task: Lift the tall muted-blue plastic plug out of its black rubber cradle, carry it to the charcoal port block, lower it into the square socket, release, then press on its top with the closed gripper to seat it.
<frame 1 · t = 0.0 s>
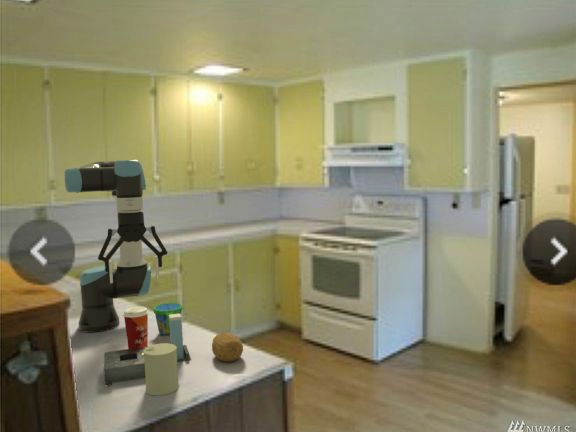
hand: (134, 280, 156), 28 cm above the counter, fingers open, 13 cm apart
plug: (177, 357, 165), point 1 cm above the counter, touching holster
can: (162, 388, 145), on the counter
coffee cup: (138, 353, 172), on the counter
snack cup: (169, 333, 191), on the counter
potato: (227, 360, 164), on the counter
holster: (177, 359, 165), on the counter
port: (129, 372, 156), on the counter
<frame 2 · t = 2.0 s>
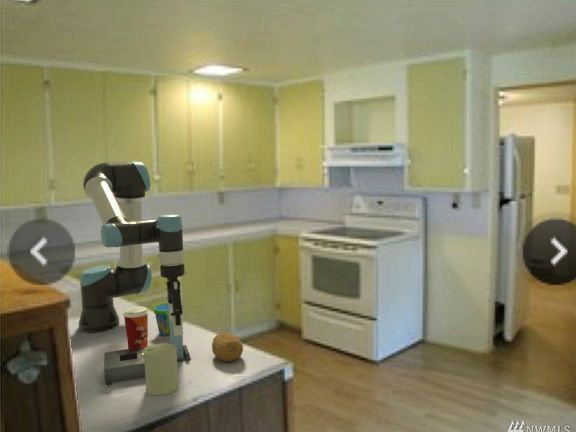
hand: (176, 328, 164), 10 cm above the counter, fingers open, 13 cm apart
nothing on the counter moved.
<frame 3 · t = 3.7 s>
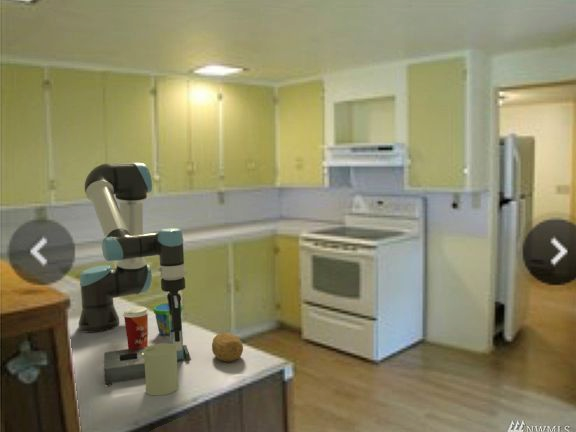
hand: (176, 348, 165), 4 cm above the counter, fingers closed on plug, 4 cm apart
plug: (177, 357, 165), point 1 cm above the counter, touching gripper, holster
everything else where it was.
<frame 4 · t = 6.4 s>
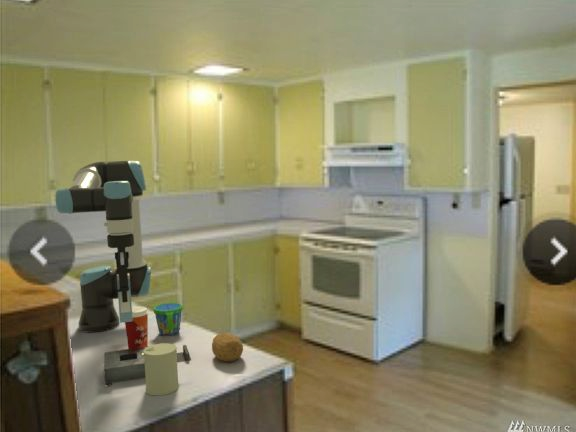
hand: (125, 310, 154), 20 cm above the counter, fingers closed on plug, 4 cm apart
plug: (126, 320, 154), point 17 cm above the counter, touching gripper
everything else where it was.
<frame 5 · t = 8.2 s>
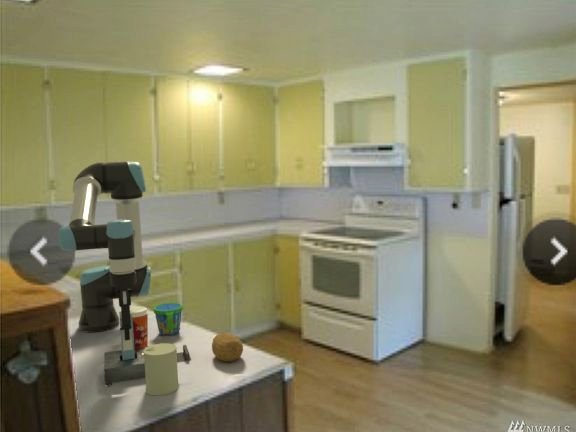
hand: (127, 347, 155), 8 cm above the counter, fingers closed on plug, 4 cm apart
plug: (128, 357, 155), point 5 cm above the counter, touching gripper
everything else where it was.
when the fingers open (6 cm above the counter, at t = 9.4 s): plug drops 3 cm, resting in port.
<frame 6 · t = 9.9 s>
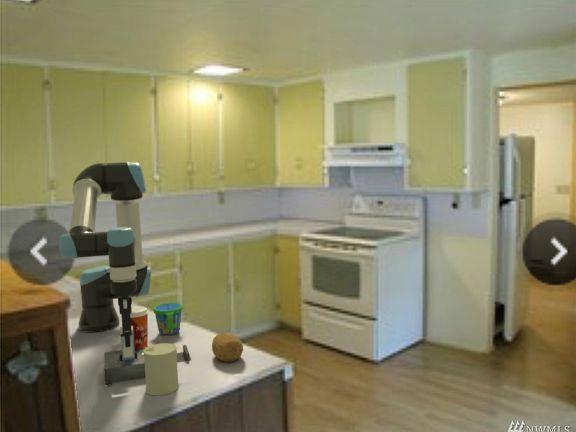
hand: (128, 349, 155), 7 cm above the counter, fingers open, 11 cm apart
plug: (129, 372, 156), resting in port
everything else where it was.
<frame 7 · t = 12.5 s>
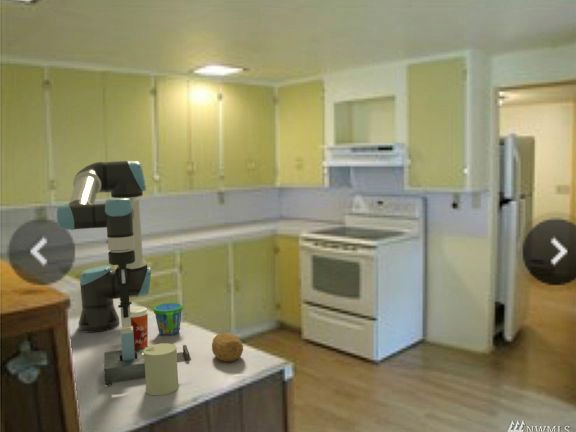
hand: (126, 326, 154), 14 cm above the counter, fingers closed
nothing on the counter moved.
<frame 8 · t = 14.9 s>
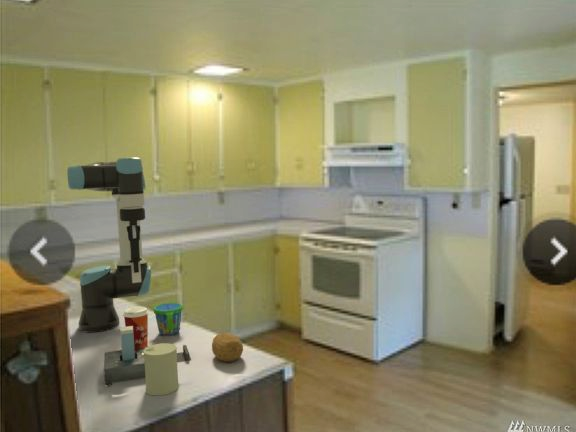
hand: (136, 281, 161), 26 cm above the counter, fingers closed
nothing on the counter moved.
at the end: plug 0.0 cm off-centre on the port, point 0.0 cm above the port's base; plug tilted 0°; the gripper is holding nothing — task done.
